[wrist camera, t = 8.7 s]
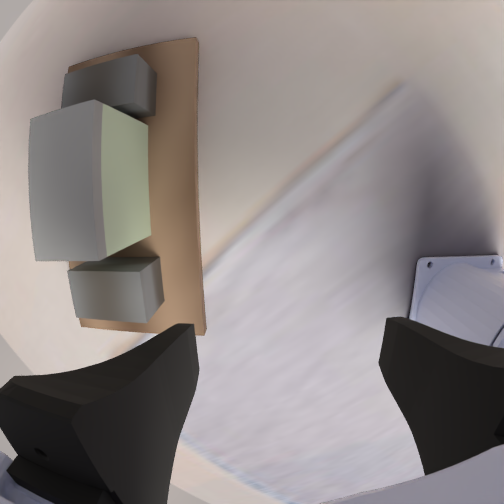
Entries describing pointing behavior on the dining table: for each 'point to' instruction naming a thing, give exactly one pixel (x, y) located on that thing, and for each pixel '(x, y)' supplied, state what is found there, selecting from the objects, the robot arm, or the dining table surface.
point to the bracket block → (87, 182)
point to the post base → (160, 192)
